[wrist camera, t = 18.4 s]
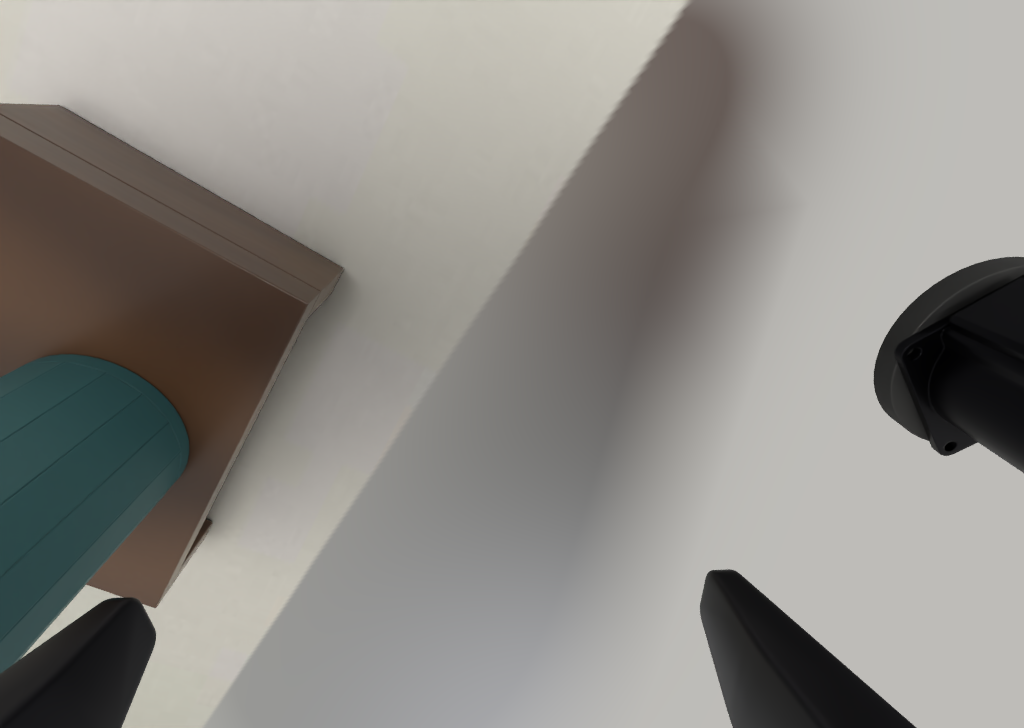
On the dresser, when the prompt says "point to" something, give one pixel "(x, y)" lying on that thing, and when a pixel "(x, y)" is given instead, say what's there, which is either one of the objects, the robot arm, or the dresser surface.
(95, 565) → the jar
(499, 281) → the dresser surface
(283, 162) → the dresser surface
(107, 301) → the brown wooden pedestal
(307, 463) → the dresser surface
